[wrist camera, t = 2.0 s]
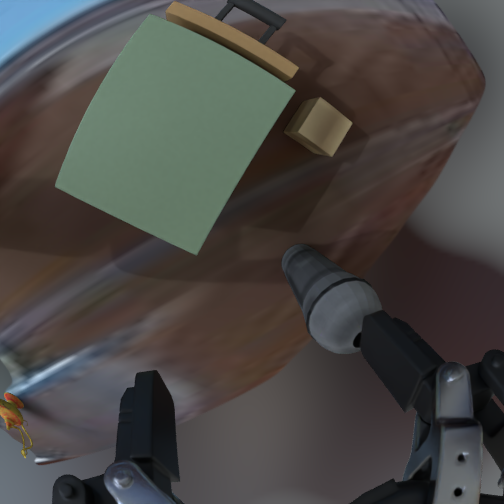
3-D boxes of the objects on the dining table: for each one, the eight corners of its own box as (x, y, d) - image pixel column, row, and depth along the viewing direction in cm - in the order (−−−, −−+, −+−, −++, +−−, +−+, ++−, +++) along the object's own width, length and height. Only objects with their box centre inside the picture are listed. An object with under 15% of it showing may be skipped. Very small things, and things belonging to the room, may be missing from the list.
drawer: (203, 1, 20) (210, -36, 13) (294, 51, 24) (326, 29, 17) (107, 144, 24) (80, 148, 17) (203, 192, 28) (209, 211, 21)
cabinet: (160, 49, 22) (149, 13, 13) (262, 103, 27) (296, 90, 18) (92, 170, 25) (54, 186, 17) (193, 220, 30) (196, 255, 21)
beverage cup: (277, 230, 33) (376, 341, 15) (330, 236, 34) (444, 329, 17) (265, 285, 35) (334, 416, 17) (316, 287, 37) (403, 396, 19)
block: (282, 132, 28) (297, 131, 24) (302, 100, 27) (320, 96, 23) (314, 153, 30) (332, 157, 26) (332, 123, 29) (352, 123, 25)
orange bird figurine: (-18, 360, 30) (-38, 400, 20) (46, 419, 38) (36, 460, 28) (-27, 369, 30) (-46, 405, 20) (32, 423, 38) (22, 461, 28)
